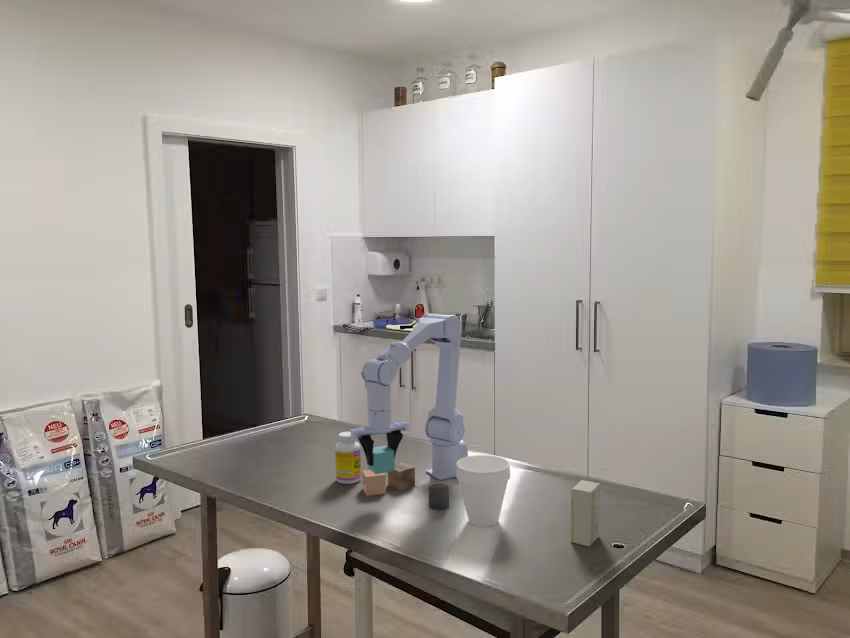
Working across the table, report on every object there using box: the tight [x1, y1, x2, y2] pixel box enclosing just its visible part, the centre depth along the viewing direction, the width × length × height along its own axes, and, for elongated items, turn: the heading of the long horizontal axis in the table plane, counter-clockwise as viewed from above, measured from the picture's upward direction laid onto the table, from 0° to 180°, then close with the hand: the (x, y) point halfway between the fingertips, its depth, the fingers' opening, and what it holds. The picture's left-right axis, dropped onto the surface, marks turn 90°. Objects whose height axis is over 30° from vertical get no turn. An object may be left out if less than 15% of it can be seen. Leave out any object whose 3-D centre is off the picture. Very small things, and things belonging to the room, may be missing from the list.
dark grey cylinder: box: [427, 482, 450, 511], centre depth 175 cm, size 5×5×5 cm
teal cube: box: [367, 445, 396, 474], centre depth 177 cm, size 5×5×5 cm
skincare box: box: [570, 479, 601, 547], centre depth 154 cm, size 6×4×12 cm
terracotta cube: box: [361, 469, 387, 497], centre depth 185 cm, size 5×5×5 cm
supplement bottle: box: [334, 431, 362, 485], centre depth 193 cm, size 7×7×13 cm
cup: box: [455, 454, 511, 528], centre depth 165 cm, size 12×12×14 cm
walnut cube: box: [387, 462, 416, 491], centre depth 189 cm, size 5×5×5 cm
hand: (380, 462), depth 177 cm, fingers closed on teal cube, 5 cm apart
